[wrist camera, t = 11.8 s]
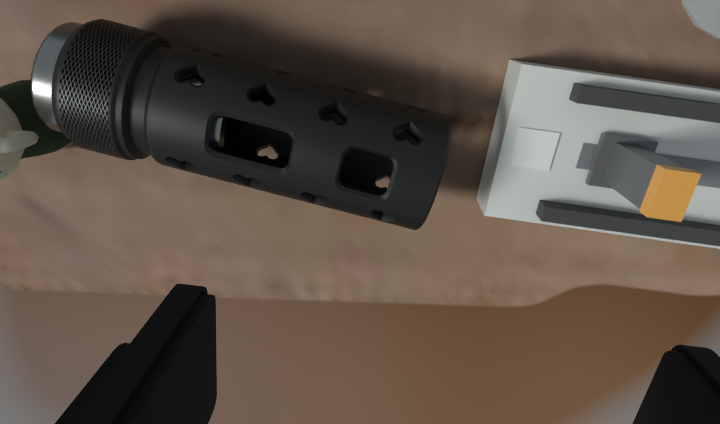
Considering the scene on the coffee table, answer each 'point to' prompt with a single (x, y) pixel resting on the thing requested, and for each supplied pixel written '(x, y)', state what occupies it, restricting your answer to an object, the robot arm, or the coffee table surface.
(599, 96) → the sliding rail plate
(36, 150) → the character mug
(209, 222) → the coffee table surface
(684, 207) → the toggle
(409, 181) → the muzzle brake
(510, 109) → the breaker panel
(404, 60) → the coffee table surface
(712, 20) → the wireless router
